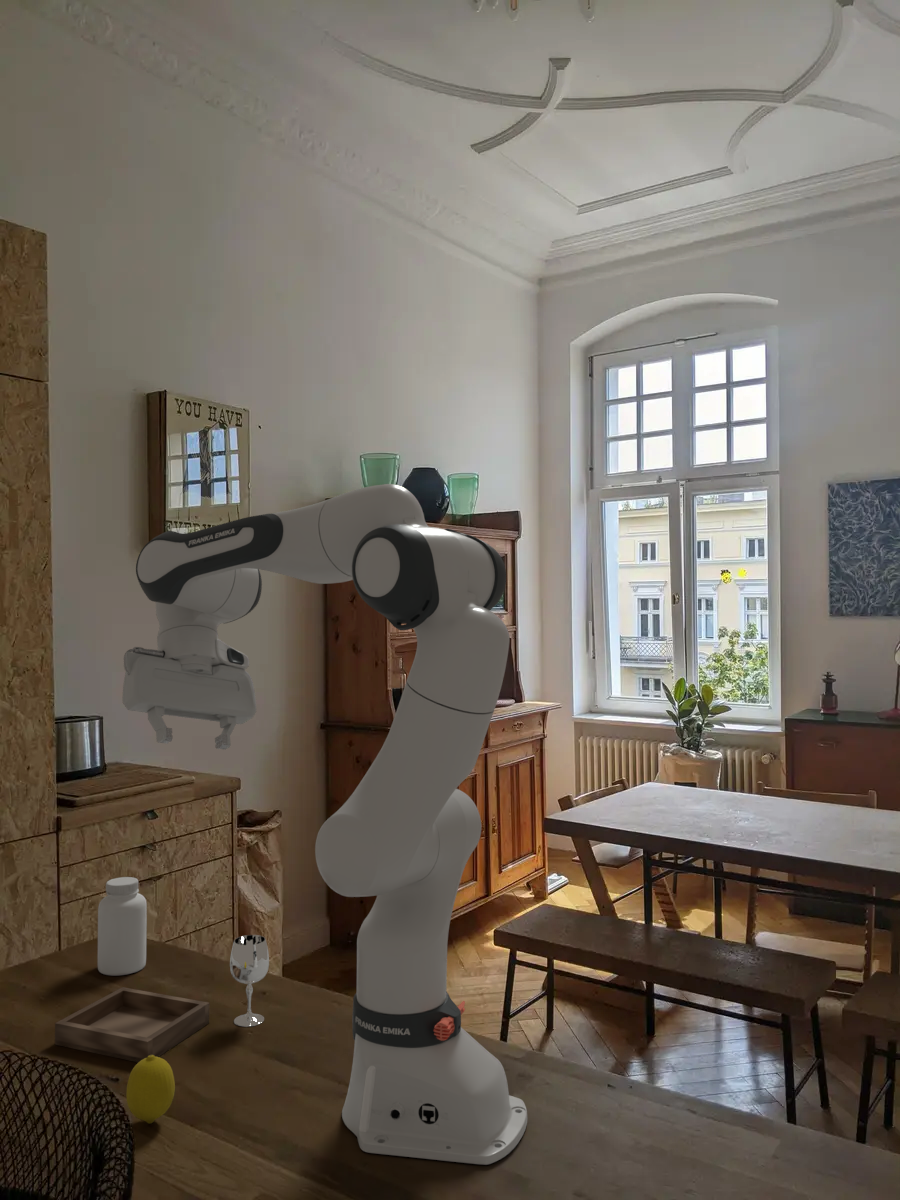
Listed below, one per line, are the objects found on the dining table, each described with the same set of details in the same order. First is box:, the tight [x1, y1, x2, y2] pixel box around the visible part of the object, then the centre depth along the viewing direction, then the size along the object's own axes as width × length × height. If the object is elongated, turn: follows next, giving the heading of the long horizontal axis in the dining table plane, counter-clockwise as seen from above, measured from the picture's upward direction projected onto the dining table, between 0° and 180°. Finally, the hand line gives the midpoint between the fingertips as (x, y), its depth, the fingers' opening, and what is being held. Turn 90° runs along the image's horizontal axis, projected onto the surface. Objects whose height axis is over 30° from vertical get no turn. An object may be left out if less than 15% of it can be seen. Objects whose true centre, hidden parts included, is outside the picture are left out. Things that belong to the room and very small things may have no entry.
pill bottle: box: [97, 876, 148, 977], centre depth 163 cm, size 8×8×15 cm
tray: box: [54, 986, 210, 1063], centre depth 137 cm, size 16×14×3 cm
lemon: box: [125, 1055, 176, 1124], centre depth 113 cm, size 6×6×8 cm
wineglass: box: [229, 934, 270, 1028], centre depth 142 cm, size 6×6×12 cm
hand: (194, 745), depth 134 cm, fingers open, 8 cm apart
